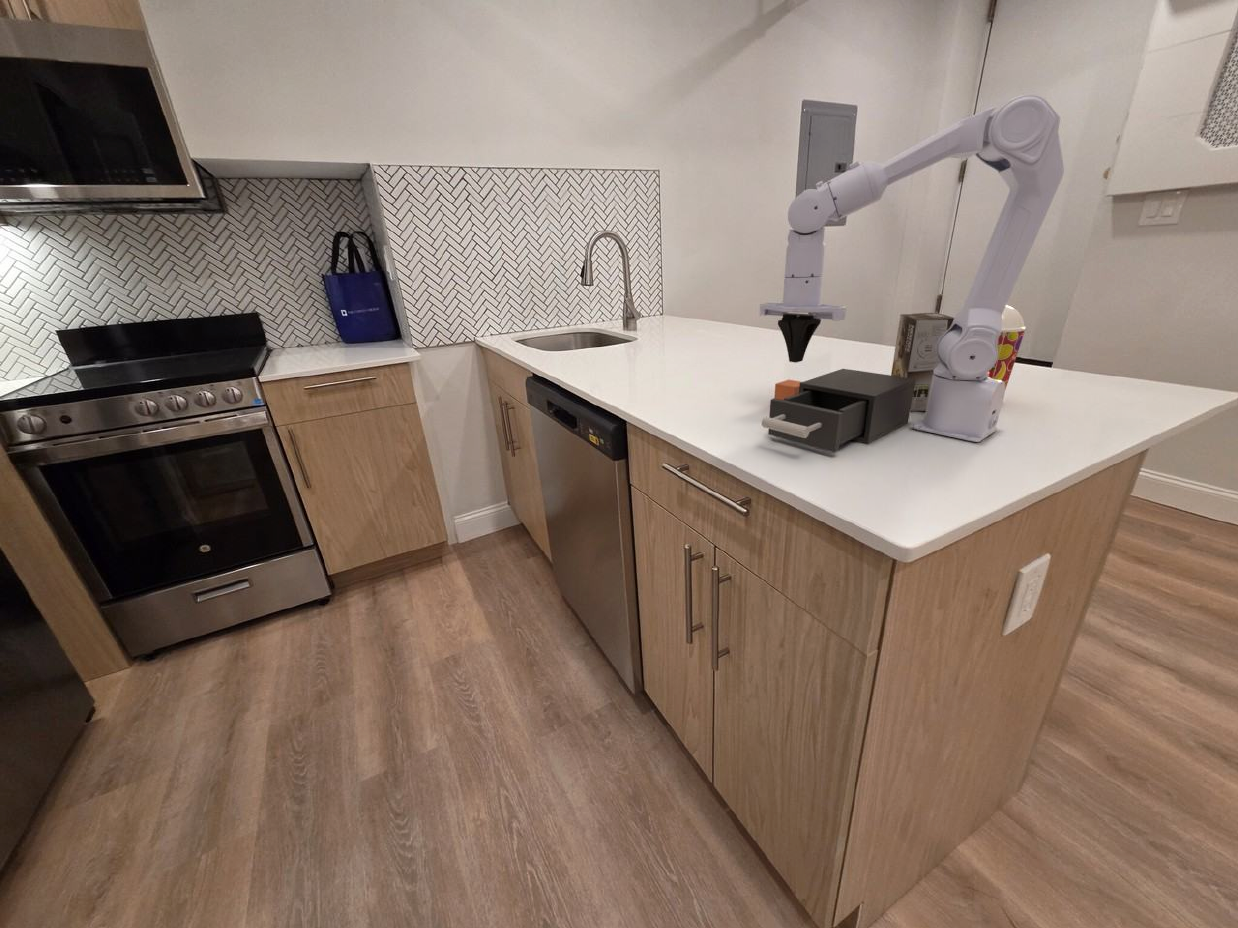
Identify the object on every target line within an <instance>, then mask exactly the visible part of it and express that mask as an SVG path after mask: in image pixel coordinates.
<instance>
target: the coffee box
mask: <svg viewBox="0 0 1238 928" xmlns="http://www.w3.org/2000/svg"><path fill="white" fill-rule="evenodd" d="M954 318H955V317H952V316H949V315H946V314H942V313H938V312H921V313H920V312H919V313H905V314H903V313H901V314H899V320H898V326H897V327H898V328H897V333H896V341H895V345H894V346H895V347H894V354H893V360H892V366H891V374H890V375H891V376H898V377H905V378H912V379H916V382H915V388H914V393H913V399H912V404H911V410H910V412H914V411H916V412H926V407H927V402H928V397H929V392H930V387H931V382H932V376H933V371H934V369H935V368H936V367H937V366H938V365H939V364H940V362H941V360H940V359H939V358H938V356H937V353H936V345H937V342H938V340H939V339H940V337H941V336H942V335H943V334H944V333H945V332H946V331H947V330H948V329H949V328H950V326H951V325H952V323H953V320H954Z"/></svg>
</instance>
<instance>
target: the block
mask: <svg viewBox="0 0 1238 928" xmlns="http://www.w3.org/2000/svg"><path fill="white" fill-rule="evenodd" d="M801 382H802V381H800V380H794V379H786V380H783V381H780V382H777V383H775V385H774V396H773V397H774V398H776V399H781V400H784V398H787V397H790V396H792V395H795V394H798V393H799V388H800V387H799V385H800V383H801ZM774 398H773V399H774Z"/></svg>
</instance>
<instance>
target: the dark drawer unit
mask: <svg viewBox="0 0 1238 928" xmlns="http://www.w3.org/2000/svg"><path fill="white" fill-rule="evenodd" d="M800 382H801V383H800V385H799V387H800V388H799V393H801V392H804V391H807V390H816V391H821V392H827V393H832V394H838V395H843V396H849V397H854V398H859V399H865V400H869V405H868V412H867V419H866V425H865V432H864V433H863V434H861V435H859V436H857V437H855V438H853V439H851V440H850V441H853V442H854V441H855V442H858V443H863V444H867V445H868V444H871V443H873V442H875V441H877V440H878V439H880V438H882V437H884V436H886V435H888V434H890V433H892V432H894V431H896V430H898V429H900V428H902V427H904V426H905V425H907V424H909V421H910V416H911V415H910V414H911V411H910V410H911V404H912V399H913V393H914V388H915V382H916V379H912V378H905V377H898V376H891V374H884V373H876V372H871V371H870V372H869V371H862V370H856V369H849V368H841V369H838V370H837V369H836V370H835V371H831V372H829V373H825V374H823V375H820V376H816V377H813V378H811V379H808V380H804V381H800Z"/></svg>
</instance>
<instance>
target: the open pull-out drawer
mask: <svg viewBox="0 0 1238 928" xmlns="http://www.w3.org/2000/svg"><path fill="white" fill-rule="evenodd" d="M769 401H770V402H769V403H770V404H769V416H764V417H763V419H762V420H761V427H762V428H765V429H768V431H767V434H768V435H769V436H772V437H776V438H780V439H784V440H786V441H791V442H795V443H798V444H800V445H805V446H809V447H812V448H816V449H819V450H823V451H827V452H830V453H837V452H839V450H840V445H842V444H845V443H846V442H848V441H852V440H851V439H853V438H855V437H857V436H859V435H861V434H863V433H864V432H865V425H866V419H867V412H868V405H869V400H865V399H859V398H854V397H849V396H843V395H838V394H832V393H827V392H821V391H816V390H807V391H804V392H801V393H798V394H795V395H792V396H790V397H787V398H784V400H781V399H776V398H772V399H770V400H769Z"/></svg>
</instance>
